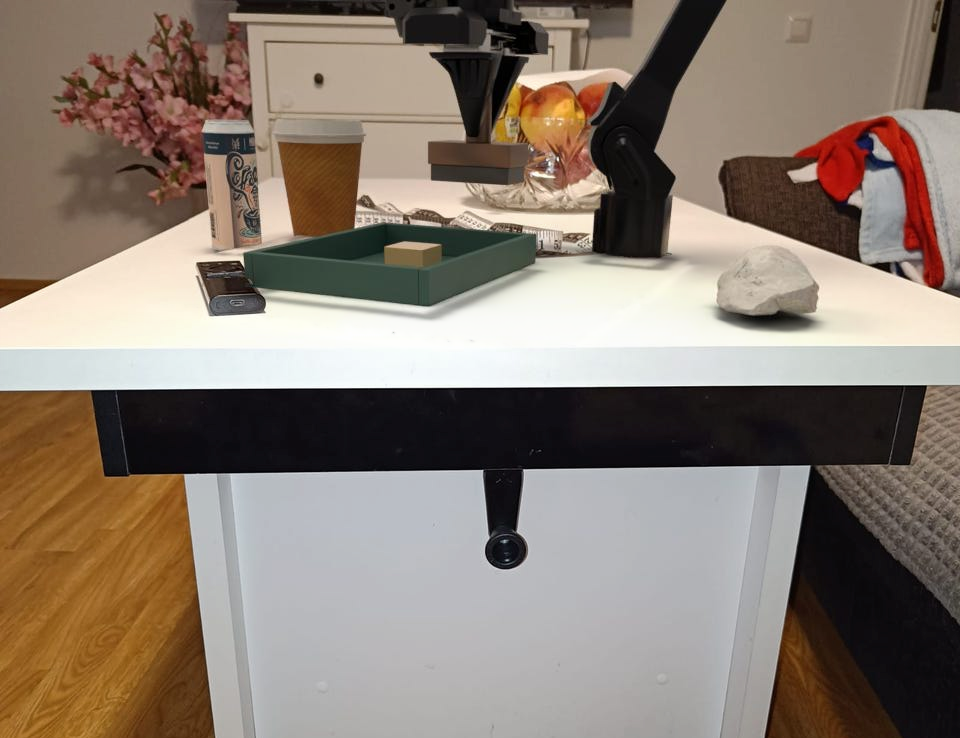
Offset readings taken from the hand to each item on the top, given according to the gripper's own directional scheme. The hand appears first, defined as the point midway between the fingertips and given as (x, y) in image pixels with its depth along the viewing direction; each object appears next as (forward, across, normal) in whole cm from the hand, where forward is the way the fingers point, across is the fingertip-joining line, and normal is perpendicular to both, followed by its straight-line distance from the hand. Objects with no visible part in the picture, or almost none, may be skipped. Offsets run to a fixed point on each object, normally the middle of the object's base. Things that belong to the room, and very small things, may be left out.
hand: (478, 136), depth 87 cm
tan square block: (+10, +14, +1) cm, 17 cm away
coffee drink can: (+11, +10, -22) cm, 26 cm away
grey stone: (+11, +14, +30) cm, 35 cm away
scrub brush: (+4, 0, 0) cm, 4 cm away
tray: (+11, +16, +1) cm, 19 cm away
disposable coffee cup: (+11, -2, -19) cm, 22 cm away
